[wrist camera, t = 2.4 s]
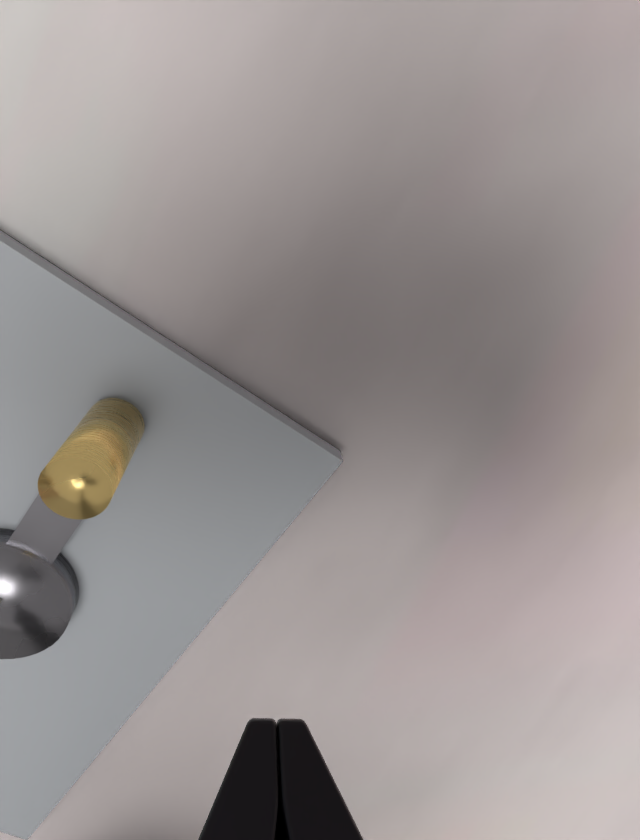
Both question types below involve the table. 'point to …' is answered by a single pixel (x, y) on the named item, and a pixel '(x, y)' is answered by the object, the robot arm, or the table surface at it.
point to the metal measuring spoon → (61, 527)
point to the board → (126, 516)
